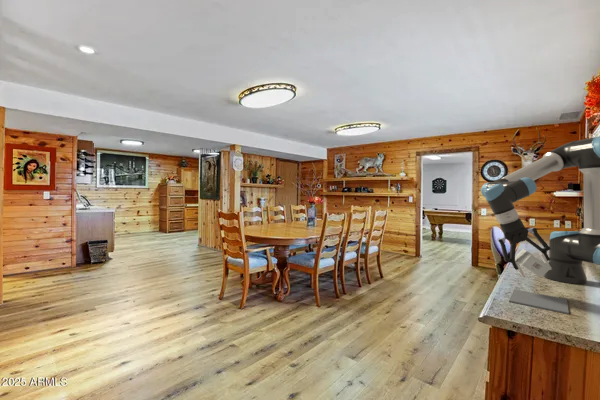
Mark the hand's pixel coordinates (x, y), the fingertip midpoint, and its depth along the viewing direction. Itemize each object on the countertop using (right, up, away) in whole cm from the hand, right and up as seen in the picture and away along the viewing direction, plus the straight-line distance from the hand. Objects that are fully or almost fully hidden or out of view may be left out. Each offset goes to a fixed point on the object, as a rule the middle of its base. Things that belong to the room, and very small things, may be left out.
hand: (536, 272), depth 118 cm
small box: (-4, +4, -6) cm, 8 cm away
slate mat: (-7, -8, -9) cm, 14 cm away
